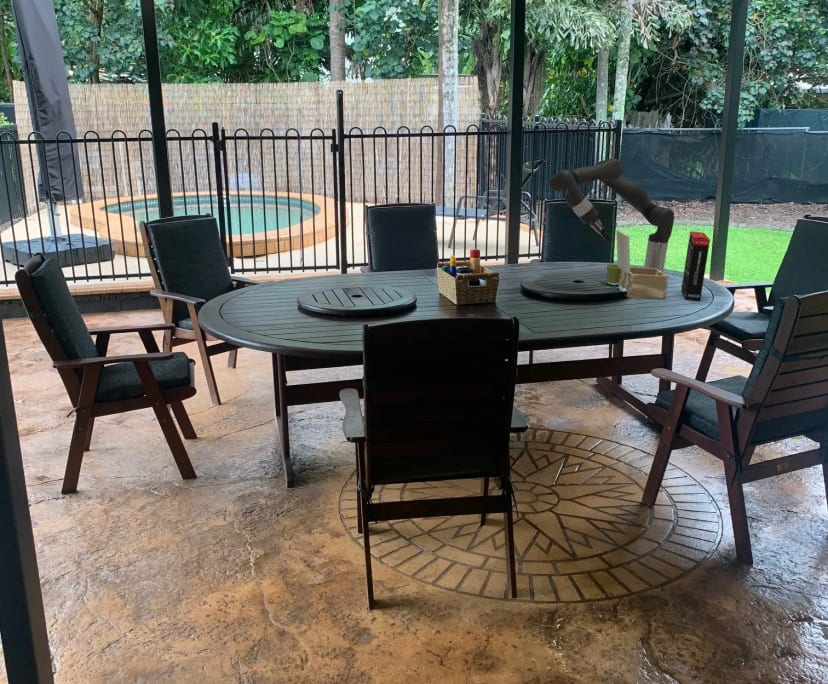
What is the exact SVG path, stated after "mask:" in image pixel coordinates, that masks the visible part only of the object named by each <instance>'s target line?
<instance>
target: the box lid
mask: <svg viewBox="0 0 828 684" xmlns="http://www.w3.org/2000/svg"><path fill="white" fill-rule="evenodd" d="M615 231H616V257H617V260H616V261H617V263H616V264H617V265H618V268H619V269H621V270H622V271H623V272H624V273H626V274H627V275H628V276H629V275H630V267H631V259H630V258H631V257H630V248H631V247H630V235H629V234H627V233H625V232H624V231H622V230H620V229H616V230H615Z"/></svg>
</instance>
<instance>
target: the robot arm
mask: <svg viewBox="0 0 828 684" xmlns="http://www.w3.org/2000/svg"><path fill="white" fill-rule="evenodd" d="M623 170H624V168H623V163H622V162H621V161H620V160H619V159H618V158H607V159H603V160H599V161H597V162H596V163H595V164H594V165H593V166H590V165H589V166H583V167H578V168H573V169H570V170H568V169H563V170H560V171H559V172H557V173H555V174H554V175H552V176H550V178H549V182H548V185H549V188H550V189H551V190H553V191H554V192H560V191H564V190H567V192H566V193H565V195H564V199H565V201H566V203H568V205H569V206H570V207H571V208H572V211H573V212H574V213H575V215H576V216H577V217H578V218H579V220H580V221H581V222H582V223H583V224H584V225H587V224H589V225H590V227H591V228H593V230H594V231H595V232H596V233H597V234H599V236H601V237H602V238H603V240H604V241H605V242H607V243H609V242H611V240H612V238H611V236H610V235H609V234H608V233H607V230H606V228H605V227H604V225H603V224H602V222H601V220H600V219H599V218H597V216H599V212H598V211H597V209H596V208H595V206H594V205H593V204H592V202H591V201H590V200H589V199H588V198H587V197H586V196H585V195H584V193H583V192H582V191H581V190H580V188H579V186H581V185H585V184H588V183H591V182H595V181H599V182H601V183H602V184H603V185H604V186H607V187H608V188H610V189H611V190H613V191H614V192H615V193H616V194H617V195H618V196H620V197H621V198H622V199H623V200H624V201H625V202H626V203H627V204H629V205H630V206H631V207H633V209H635V210H636V211H638V212H639V213H640V214H641V216H643V217H644V219H645V220H646V221H647V222H648V223H649V224H650V225H652V226H654V227H656V231H655V232H653V233H650V234H649V235H648V238H647V239H648V240H647V246H646V252H645V259H644V264H643V265H644V266H643V268H656V269H658V270H660V271H661V272H663V273H664V270H665V264H666V258H667V253H668V252H667V251H668V245H669V240H670V238H671V236H672V231H673V227H674V223H675V213H674V211H673V210H672V209H671V208H667V207H663V206H662V207H661V206H659V205H656V204H655V203H653V201H651V200H650V198H649V194H648V192H647V190H646V189H645V188H644V187H643V186H641V184H639V183H638V182H636V181H634V180H632V179H629V178H625V177H623V176H621V175H622V174H623Z"/></svg>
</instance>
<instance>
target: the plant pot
mask: <svg viewBox="0 0 828 684" xmlns="http://www.w3.org/2000/svg"><path fill="white" fill-rule="evenodd" d="M605 267H606V276H607V278H606V279H607V280H606V281H607V282H610V283H619V278H620V271H621V269H619V268H618V263H615V264H614V263H609V264H608V263H607V264H606V265H605ZM607 282H606V283H607Z"/></svg>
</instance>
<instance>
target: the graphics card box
mask: <svg viewBox="0 0 828 684" xmlns="http://www.w3.org/2000/svg"><path fill="white" fill-rule="evenodd" d="M710 241H711V239H710V238H709V237H708V236H707V235H706V234H705V232H700V231H691V230H690V233H689V237H688V244H687V250H686V257H685V262H684V263H685V264H684V270H683V277H682V282H681V293H682V295H683V297H684V299H685V300H687V299H691V300H690V301H701V297H702V292H703V291H702V290H703V285H704V279H705V273H706V269H707V268H706V267H707V261H708V254H709V248H710Z"/></svg>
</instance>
